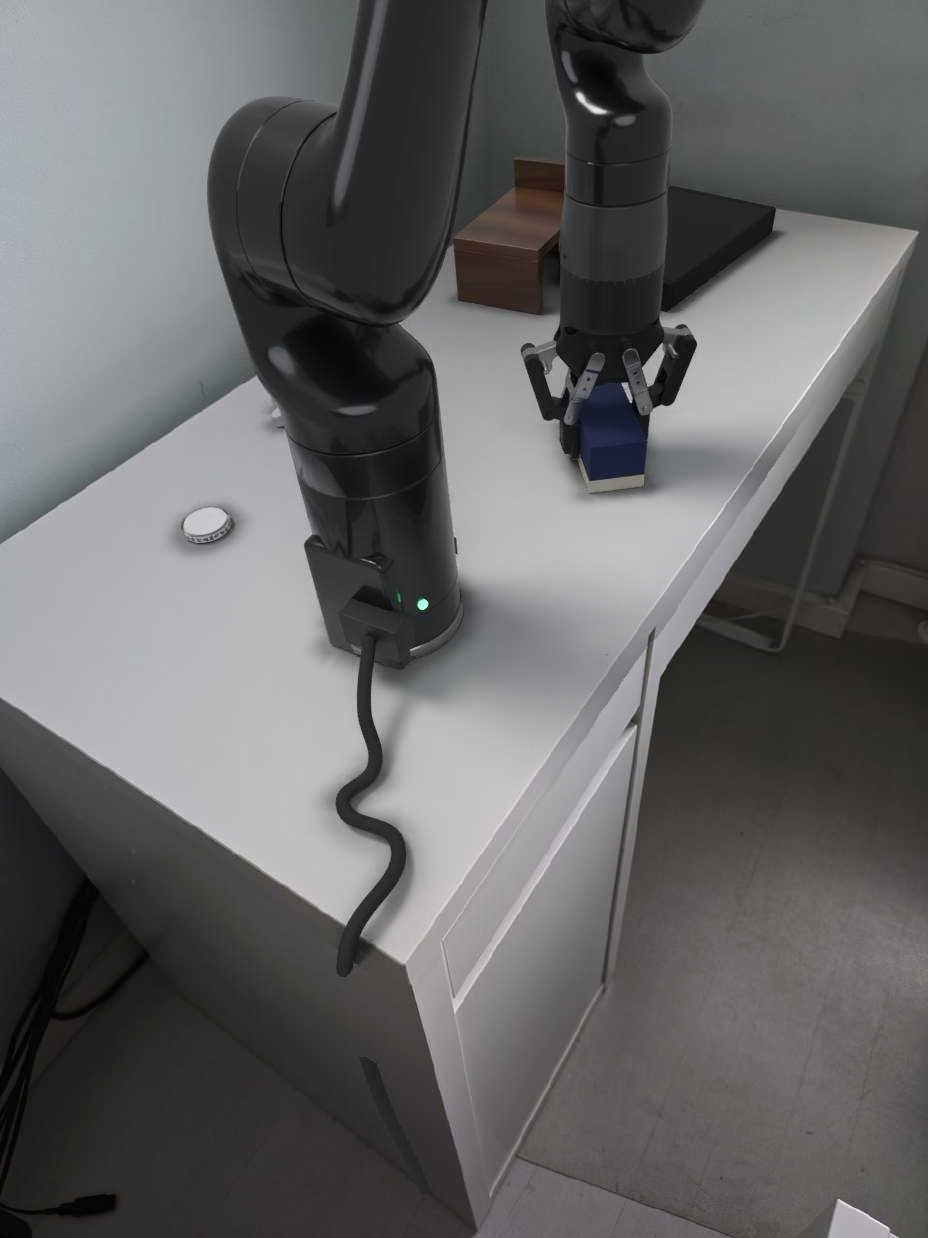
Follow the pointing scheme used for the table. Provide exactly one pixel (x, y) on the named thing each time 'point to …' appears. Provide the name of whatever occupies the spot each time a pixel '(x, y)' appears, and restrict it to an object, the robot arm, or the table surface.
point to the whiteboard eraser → (611, 441)
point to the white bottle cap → (206, 524)
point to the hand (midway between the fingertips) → (603, 449)
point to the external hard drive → (706, 238)
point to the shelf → (513, 240)
